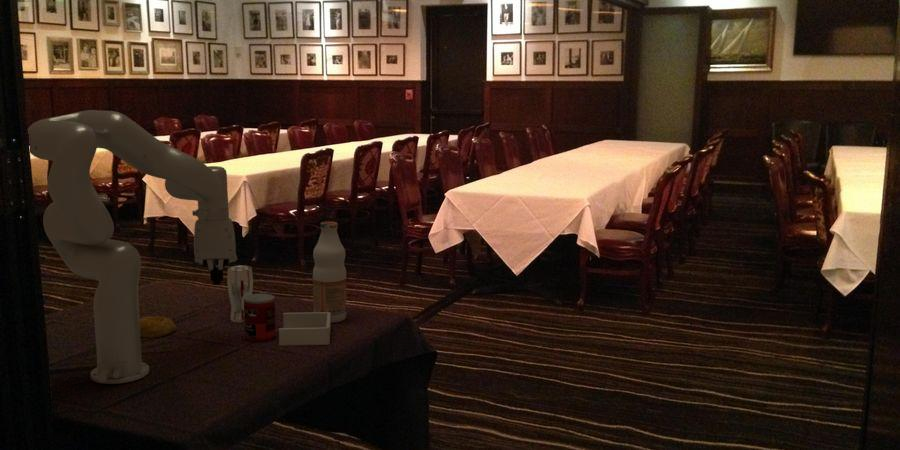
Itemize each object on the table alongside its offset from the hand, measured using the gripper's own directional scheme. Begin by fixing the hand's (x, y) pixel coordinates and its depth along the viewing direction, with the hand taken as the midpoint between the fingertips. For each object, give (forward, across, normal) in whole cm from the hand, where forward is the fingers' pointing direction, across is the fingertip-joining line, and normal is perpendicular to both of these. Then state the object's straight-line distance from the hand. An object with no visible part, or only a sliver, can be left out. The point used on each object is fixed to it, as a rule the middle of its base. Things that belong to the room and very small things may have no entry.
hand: (217, 283), depth 214 cm
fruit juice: (+16, +28, +15) cm, 36 cm away
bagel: (+15, -18, +5) cm, 24 cm away
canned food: (+15, +10, -1) cm, 18 cm away
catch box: (+15, +22, -1) cm, 27 cm away
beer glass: (+15, +4, +16) cm, 22 cm away
